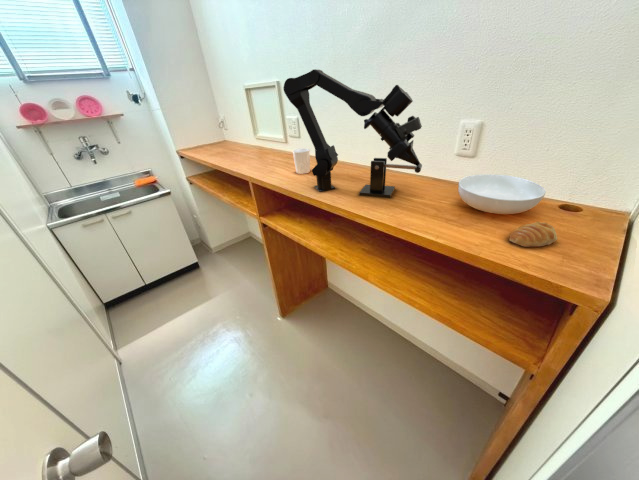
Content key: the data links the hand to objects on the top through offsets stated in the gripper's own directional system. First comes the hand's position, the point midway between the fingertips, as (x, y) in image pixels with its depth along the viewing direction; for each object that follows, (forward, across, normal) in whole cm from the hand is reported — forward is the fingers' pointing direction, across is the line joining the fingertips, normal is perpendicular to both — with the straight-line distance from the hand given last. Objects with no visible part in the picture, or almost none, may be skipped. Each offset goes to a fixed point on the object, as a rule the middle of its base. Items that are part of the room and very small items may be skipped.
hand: (418, 164), depth 82 cm
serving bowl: (+24, -4, -8) cm, 25 cm away
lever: (-3, 0, +6) cm, 7 cm away
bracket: (-2, 0, +17) cm, 17 cm away
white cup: (-30, +19, +45) cm, 57 cm away
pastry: (+28, -23, -12) cm, 38 cm away
